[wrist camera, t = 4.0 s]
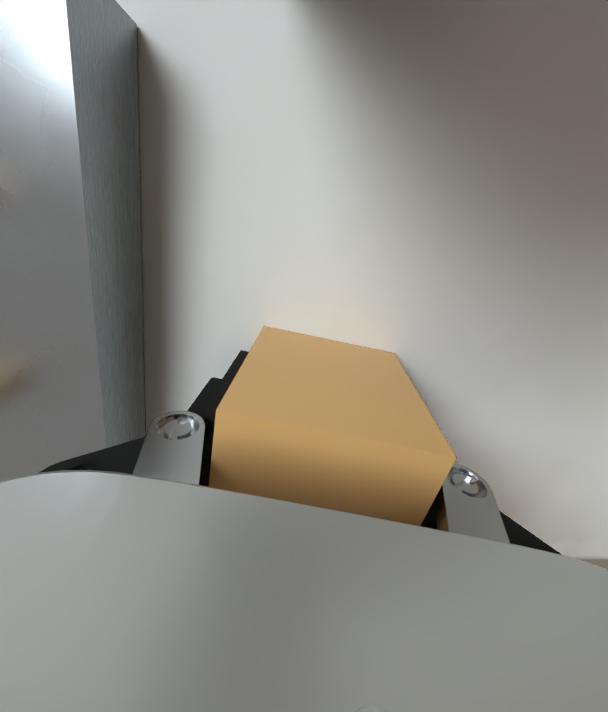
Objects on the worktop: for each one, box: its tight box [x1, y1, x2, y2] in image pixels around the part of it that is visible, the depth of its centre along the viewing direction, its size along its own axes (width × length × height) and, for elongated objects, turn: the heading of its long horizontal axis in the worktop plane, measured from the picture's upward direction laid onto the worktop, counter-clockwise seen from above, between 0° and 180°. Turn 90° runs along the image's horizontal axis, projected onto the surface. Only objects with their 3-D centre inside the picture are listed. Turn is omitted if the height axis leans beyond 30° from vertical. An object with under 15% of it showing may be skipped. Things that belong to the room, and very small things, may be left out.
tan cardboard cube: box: [209, 326, 457, 526], centre depth 9 cm, size 5×5×6 cm
